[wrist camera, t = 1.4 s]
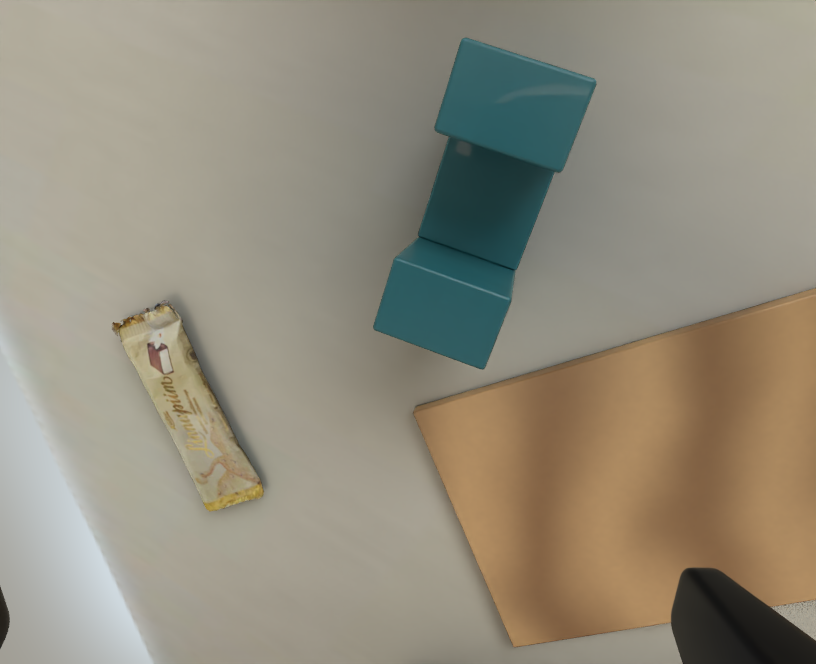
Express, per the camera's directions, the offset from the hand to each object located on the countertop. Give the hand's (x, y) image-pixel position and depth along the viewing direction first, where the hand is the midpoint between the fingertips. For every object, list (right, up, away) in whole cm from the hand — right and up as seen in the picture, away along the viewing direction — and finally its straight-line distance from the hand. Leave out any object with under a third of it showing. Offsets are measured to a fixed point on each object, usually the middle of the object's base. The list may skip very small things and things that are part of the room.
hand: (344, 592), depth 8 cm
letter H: (+4, +9, +13) cm, 16 cm away
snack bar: (-8, 0, +19) cm, 21 cm away
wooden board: (+12, -2, +15) cm, 20 cm away
